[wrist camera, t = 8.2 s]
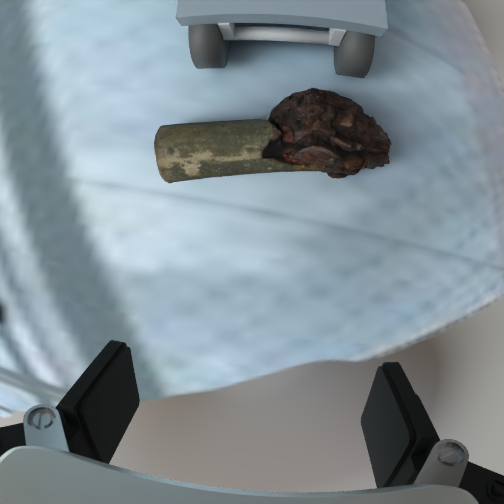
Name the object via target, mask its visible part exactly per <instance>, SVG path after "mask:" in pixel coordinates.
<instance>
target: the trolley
mask: <svg viewBox="0 0 504 504" xmlns="http://www.w3.org/2000/svg"><path fill="white" fill-rule="evenodd" d="M176 19H177V20H178V22H179V23H180V24H181V26H187V25H189V47H190V53H191V57H192V61H193V63H194V65H195V67H196V68H198V69H203V68H224V67H225V66H226V64H227V60H228V55H229V45H230V40H269V41H289V42H302V43H313V44H322V45H331V46H334V65H335V71H336V73H337V74H338V75H345V76H352V77H359V78H364V77H365V76H366V75H367V73H368V71H369V69H370V66H371V62H372V58H373V52H374V41H375V36H380V37H382V36H383V34H384V33H385V32H386V31H387V30H388V25H387V14H386V4H385V0H178V6H177V13H176ZM235 23H276V24H294V25H306V26H316V27H325V28H330V29H329V31H321V30H312V29H301V28H287V27H264V26H235Z"/></svg>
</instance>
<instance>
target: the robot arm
mask: <svg viewBox="0 0 504 504" xmlns="http://www.w3.org/2000/svg"><path fill="white" fill-rule="evenodd" d="M139 401H140V399H139V393H138V388H137V383H136V378H135V373H134V367H133V362H132V356H131V350H130V348H129V347H127V345H126V343H124V342H119V341H114V340H111V341H109V343H108V344H107V345H106V346H105V347H104V349H103V350H102V351H101V352H100V353H99V354H98V356H97V357H96V358H95V359H94V360H93V362H92V363H91V364H90V365H89V367H88V368H87V369H86V370H85V371H84V373H83V374H82V375H81V376H80V378H79V379H78V380H77V381H76V382H75V384H74V385H73V386H72V387H71V389H70V390H69V391H68V392H67V394H66V395H65V396H64V397H63V399H62V400H61V401H60V402H59V404H58V405H57V406H56V408H55V407H53V406H50V405H46V404H42V405H36V406H33V407H32V408H30V409H29V410H28V411H27V412H26V413H25V415H24V419H23V423H19V424H15V425H10V426H5V427H0V504H504V476H503V475H501V474H498V473H495V472H493V471H490V470H488V469H486V468H483V467H481V466H478V465H476V464H473V463H471V462H469V461H468V459H469V454H468V450H467V449H466V447H465V446H464V445H463V444H462V443H460V442H458V441H456V440H452V439H444V440H440V439H439V437H438V435H437V432H436V430H435V428H434V426H433V424H432V422H431V420H430V418H429V416H428V414H427V412H426V410H425V408H424V406H423V404H422V402H421V400H420V398H419V397H418V395H417V394H415V392H414V390H413V388H412V386H411V384H410V382H409V381H408V378H407V377H406V375H405V373H404V371H403V369H402V367H401V365H400V364H399V362H385V363H383V365H382V366H379V367H378V369H377V372H376V375H375V378H374V381H373V384H372V388H371V391H370V394H369V397H368V400H367V402H366V405H365V408H364V411H363V414H362V417H361V425H362V429H363V433H364V436H365V441H366V445H367V449H368V453H369V457H370V461H371V464H372V469H373V473H374V477H375V482H376V486H377V488H376V489H366V490H353V491H338V492H309V493H308V492H307V493H296V492H295V493H294V492H293V493H292V492H265V491H250V490H238V489H229V488H220V487H212V486H205V485H199V484H192V483H186V482H181V481H175V480H171V479H166V478H161V477H156V476H152V475H148V474H143V473H140V472H136V471H132V470H128V469H124V468H120V467H117V466H114V465H110V464H109V463H110V461H111V458H112V457H113V455H114V453H115V451H116V449H117V447H118V445H119V443H120V441H121V439H122V437H123V435H124V433H125V431H126V429H127V427H128V425H129V423H130V421H131V419H132V418H133V416H134V414H135V412H136V410H137V408H138V406H139Z"/></svg>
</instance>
